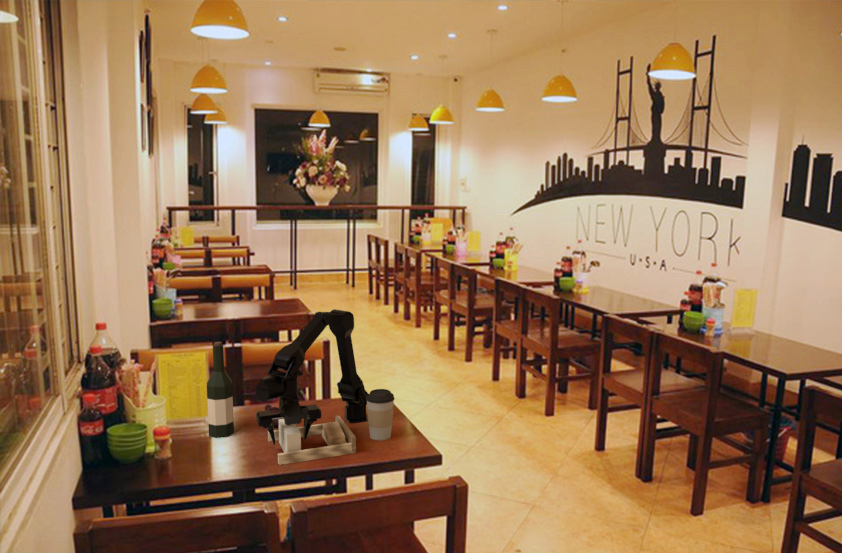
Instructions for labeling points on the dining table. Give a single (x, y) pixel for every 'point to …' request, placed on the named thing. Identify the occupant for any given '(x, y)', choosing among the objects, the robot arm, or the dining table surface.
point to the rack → (320, 451)
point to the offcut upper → (333, 433)
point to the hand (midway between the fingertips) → (289, 442)
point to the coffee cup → (380, 413)
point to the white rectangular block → (289, 437)
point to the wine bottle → (220, 397)
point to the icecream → (272, 410)
